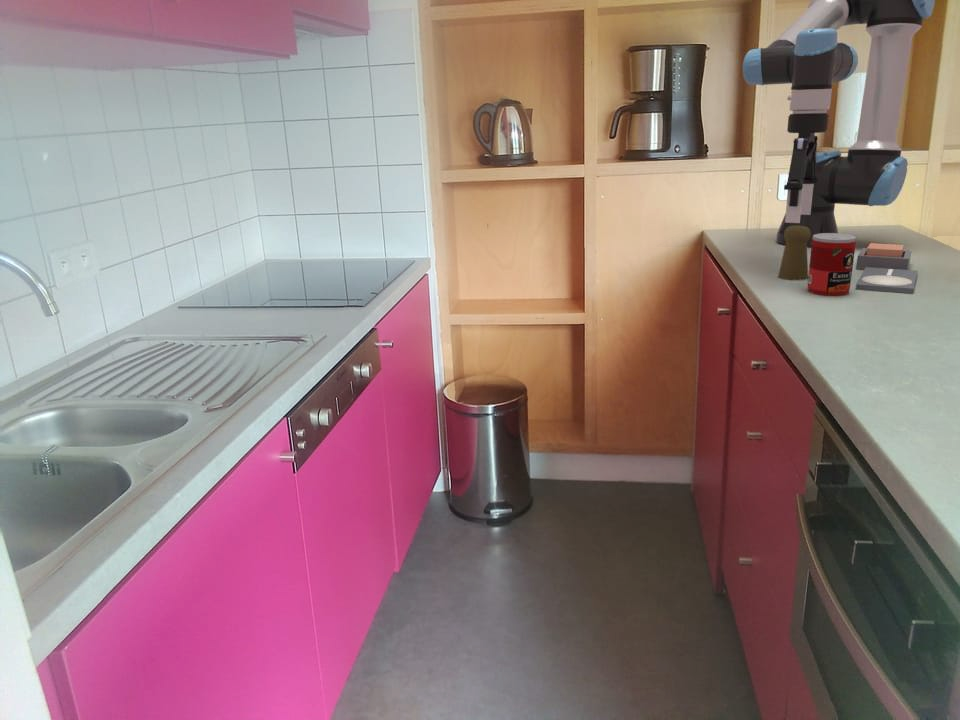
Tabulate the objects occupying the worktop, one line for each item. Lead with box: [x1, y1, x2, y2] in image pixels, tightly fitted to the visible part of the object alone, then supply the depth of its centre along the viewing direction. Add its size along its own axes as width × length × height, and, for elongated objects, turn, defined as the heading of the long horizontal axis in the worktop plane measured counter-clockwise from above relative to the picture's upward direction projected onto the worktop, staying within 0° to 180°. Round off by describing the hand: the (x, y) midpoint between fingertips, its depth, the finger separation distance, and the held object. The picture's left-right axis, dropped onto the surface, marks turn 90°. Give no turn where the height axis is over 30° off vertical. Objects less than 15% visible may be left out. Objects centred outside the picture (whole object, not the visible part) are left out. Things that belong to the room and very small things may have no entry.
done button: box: [866, 242, 905, 257], centre depth 170 cm, size 7×7×3 cm
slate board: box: [855, 267, 919, 294], centre depth 157 cm, size 18×10×1 cm, turn 149°
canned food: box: [807, 232, 857, 297], centre depth 150 cm, size 8×8×11 cm
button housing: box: [855, 247, 912, 271], centre depth 171 cm, size 10×10×3 cm
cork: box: [778, 225, 811, 281], centre depth 163 cm, size 6×6×11 cm
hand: (798, 218), depth 160 cm, fingers open, 13 cm apart
